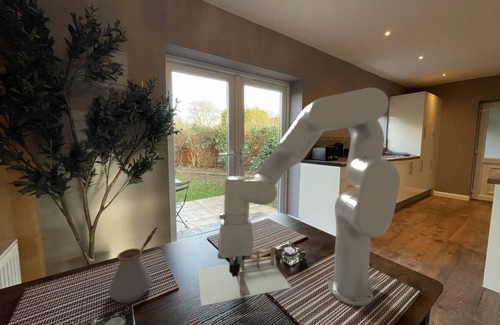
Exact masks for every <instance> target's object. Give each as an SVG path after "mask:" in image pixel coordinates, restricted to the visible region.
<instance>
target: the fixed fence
mask: <svg viewBox="0 0 500 325" xmlns="http://www.w3.org/2000/svg"><path fill="white" fill-rule="evenodd" d="M263 254H270V255H269V256H263V257H260V255H263ZM275 254H276V247H275V245H272V246H270V248H266V249H256V250H253V252H252V255H249V256H255V255H256V258H252V259H251V258H250V259H245V258H244V259H243V260H242V262H241V269H244V264H249V263H256V262H257V265H256V266H259V262H262V261H268V260H270V263H271V264H275V265H276V263H275V261H276V255H275ZM249 256H248V257H249Z"/></svg>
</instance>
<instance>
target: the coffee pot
mask: <svg viewBox="0 0 500 325" xmlns="http://www.w3.org/2000/svg"><path fill="white" fill-rule="evenodd" d="M157 229H158V230H157ZM160 231H161V229H160V228H159V227H157V226H155V227H154V228H153V230H152V231H151V232H150V234H149V235H148V236H147V238H146V240H145V241H144V243H143V245H142V247H141V248H135V247H134V248H128V249H125V250H123V251H121V252H119V253H118V254H117V256H116V258H117V259H118V260H119V265H118V267H117V270H116V272H115V275H114V277H113V278H112V281H111V284H110V286H109V289H108V294H109V295H108V296H109V297H110V298H111V299H112V300H113V301H115V302H118V303H122V304H128V303H133V302H135V301H137V300H139V299H140V298H143V296H144V295H145V294H146V293H147V292H148V291H149V290H150V288H151V286H152V282H153V279H152V276H151V274H150V273H149V270H148V269H147V267H146V266H145V264H144V262H143V261H142V259H141V256H142V253H143V251H144V250H145V248H146V247H147V245H148V244H149V242H150V241H151V240H152V238H153V236H154V235H155V234H156V232H160Z"/></svg>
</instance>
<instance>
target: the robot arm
mask: <svg viewBox="0 0 500 325" xmlns="http://www.w3.org/2000/svg"><path fill="white" fill-rule="evenodd" d="M388 108H389V98H388V96H387V94H386V93H385V92H384V91H383V90H382V89H379V88H376V87H366V88H364V87H363V88H361V89H360V88H359V89H356V90H351V91H347V92H343V93H339V94H332V95H329V96H324V97H320V98H317V99H315V100H313V101H312V102H310V103H309V104H307V105H306V106H305V107H304V108H303V109H302V110H301V112H300V113H299V115H298V116H297V118H296V119H295V121H293V123H292V125H291V126H290V127H289V129H288V130H287V131H286V133H285V134H284V135H283V137H282V138H281V140H280V141H279V142H278V143H277V145H276V146H275V147H274V149H273V150H272V151H271V153H270V155H269V156H268V157H267V158H266V159H265V161H264V163H263V164H262V165H261V166H260V167H259V169H258V170H257V172H256V173H255V174H254V176H253V178H252V179H250V178H248V177H246V176H243V175H232V176H228V177H227V178H226V179H225V180H224V200H223V201H224V204H223V212H222V213H221V214H219V215H218V218H219V220H221V223H220V228H219V234H218V235H219V236H218V244H217V245H218V246H217V247H218V251H217V258H218V259H219V260H225V261H227V263H228V264H229V272H230V273H231V274H232V277H235V276H236V277H237V276H238V272H240V264H241V262H242V260H243V259H244V260H245V258H246V257H249V255H250V256H253V255H252V252H253V251H254V234H253V224H252V221H251V220H250V218H249V217H250V204H254V205H259V206H266V205H270V204H272V203H273V202H274V201H275V200H276V198H277V194H278V193H277V192H278V191H277V188H276V185H277V184H278V182H279V180H281V178H282V177H283V176H284V174H285V173H287V171H288V170H289V169H291V168H292V167H294V166H296V165H297V164H299V163H301V162H302V161H303V160H304V159H305V157H307V155H308V154H309V152H310V151H311V149H312V148H313V146H314V145H315V144H316V143H317V141H319V139H320V138H321V136H322V134H323V133H324V132H328V131H334V130H340V129H344V128H345V129H346V128H347V129H348V131H349V134H350V144H349V149H348V156H347V161H346V167H345V173H344V177H345V180H346V182H348V184H349V185H350V186H352V187H354V188H357V189H358V191H356V190H355V191H354V190H348V191H344V192H342V193H341V194H339V196H338V197H337V198H336V200H335V203H334V216H335V246H334V265H333V266H334V267H333V268H334V269H333V276H332V277H331V278H330V279H329V280H328V284H327V288H328V289H329V292H330V293H331V294H332V295H333V296H334V298H336V299H337V300H339V301H340V302H343V303H344V304H348V305H350V306H356V307H363V306H367V305H370V304H371V303H372V302H373V298H374V297H373V296H374V294H373V291H372V290H371V287H372V286H373V285H378V284H379V283H380V279H379V278H378V277H377V276H373V277H370V275H369V268H370V255H371V243H372V242H371V238H378V237H381V236H383V235H385V233H386V232H387V231H388V230H389V228H390V226H391V224H392V221H393V218H394V214H395V209H396V205H397V201H398V200H397V199H398V196H399V191H400V185H401V178H400V177H401V176H400V173H399V171H398V167H396V166H395V164H393V163H392V162H391V161H390V160H386V159H384V158H382V157H383V151H384V143H385V135H384V130H383V127H382V126H381V124H380V122H379V120H380V118H382V117H383V116H384V115H385V114H386V112H387V111H388ZM235 257H236V258H235Z"/></svg>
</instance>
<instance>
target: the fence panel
mask: <svg viewBox="0 0 500 325" xmlns="http://www.w3.org/2000/svg"><path fill="white" fill-rule="evenodd" d="M235 258H236V257H234V259H235ZM238 281H239V284H240V295H241V294H244V272H242V269H241V264H240V272H238Z"/></svg>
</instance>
